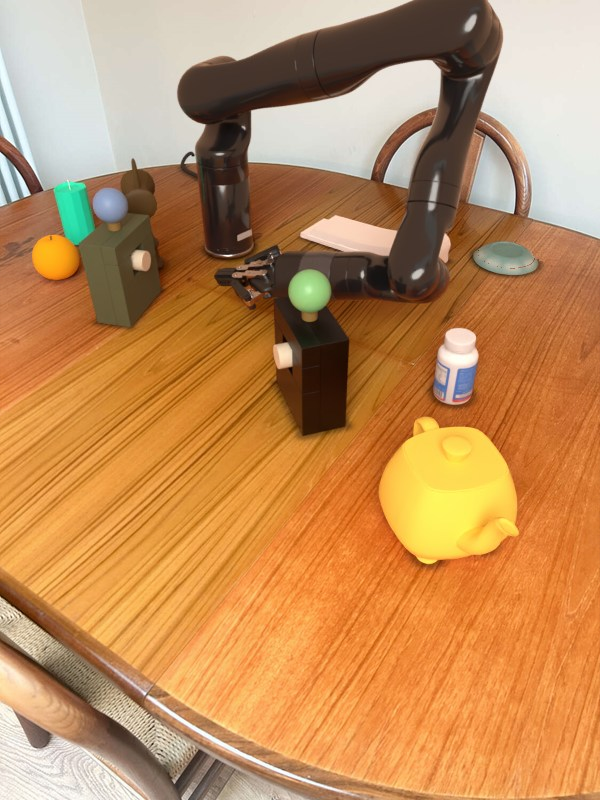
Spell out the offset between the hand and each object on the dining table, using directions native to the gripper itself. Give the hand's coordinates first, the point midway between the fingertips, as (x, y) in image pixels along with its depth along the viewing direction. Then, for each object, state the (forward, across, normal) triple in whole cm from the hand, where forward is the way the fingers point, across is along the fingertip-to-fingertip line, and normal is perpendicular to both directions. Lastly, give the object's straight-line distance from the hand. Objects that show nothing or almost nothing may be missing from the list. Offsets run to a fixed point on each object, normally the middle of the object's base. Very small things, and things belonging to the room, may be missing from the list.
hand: (217, 276), depth 106 cm
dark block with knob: (-22, -18, -7) cm, 29 cm away
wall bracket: (-14, +28, -13) cm, 34 cm away
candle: (+40, +12, 0) cm, 41 cm away
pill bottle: (-38, -10, -14) cm, 42 cm away
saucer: (-38, +33, -22) cm, 54 cm away
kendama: (+20, +7, -4) cm, 22 cm away
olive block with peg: (+16, -6, -1) cm, 17 cm away
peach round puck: (+11, -4, +5) cm, 12 cm away
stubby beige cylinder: (-21, -19, +1) cm, 28 cm away
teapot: (-45, -34, -8) cm, 57 cm away
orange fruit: (+33, -2, +2) cm, 33 cm away
